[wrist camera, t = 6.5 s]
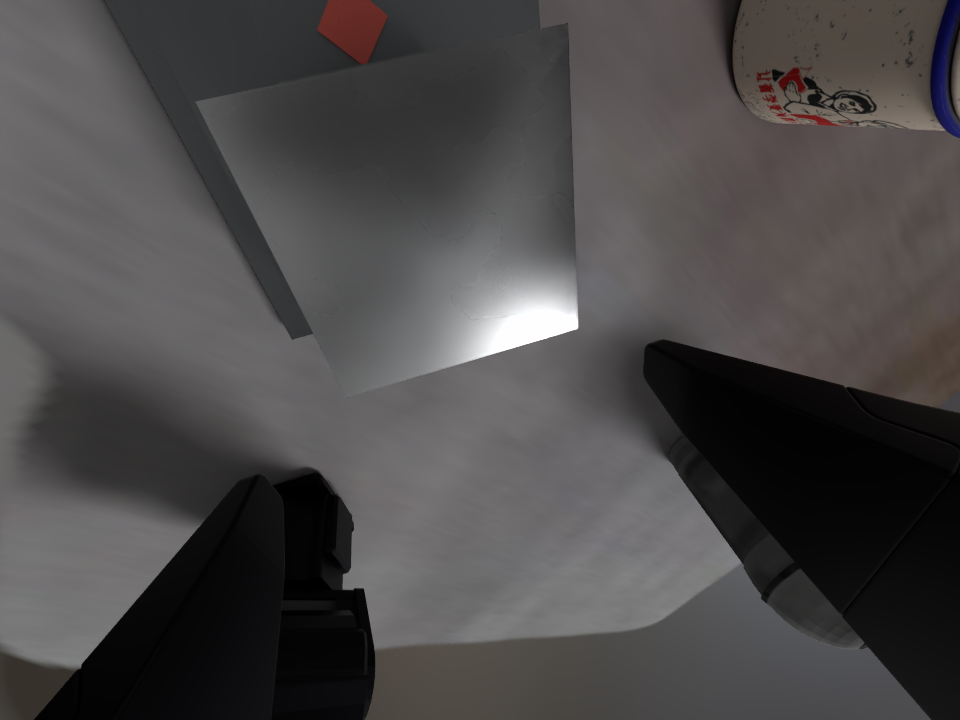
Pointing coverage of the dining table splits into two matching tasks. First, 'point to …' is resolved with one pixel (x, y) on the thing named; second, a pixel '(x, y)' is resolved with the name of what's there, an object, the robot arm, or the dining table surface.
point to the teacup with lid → (850, 62)
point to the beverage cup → (762, 554)
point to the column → (416, 201)
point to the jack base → (284, 71)
